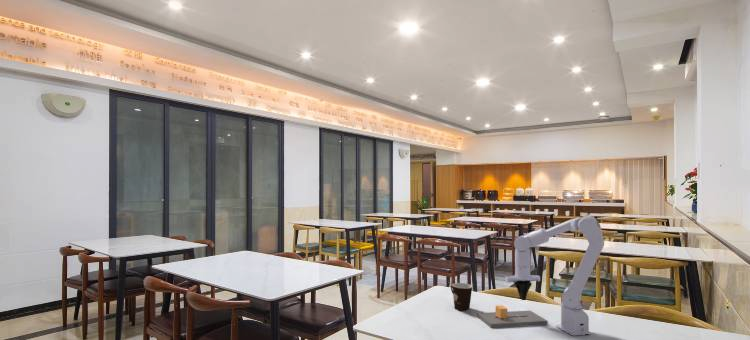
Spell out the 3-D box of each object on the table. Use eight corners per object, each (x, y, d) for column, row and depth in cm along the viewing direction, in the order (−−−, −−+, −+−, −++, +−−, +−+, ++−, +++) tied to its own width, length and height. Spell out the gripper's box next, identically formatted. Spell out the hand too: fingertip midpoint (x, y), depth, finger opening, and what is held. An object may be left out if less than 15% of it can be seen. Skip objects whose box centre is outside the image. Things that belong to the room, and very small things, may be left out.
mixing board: (547, 324, 153) (547, 320, 153) (491, 327, 148) (491, 323, 149) (530, 314, 165) (530, 310, 165) (477, 316, 160) (477, 312, 160)
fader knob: (507, 318, 154) (507, 308, 154) (500, 318, 154) (500, 308, 154) (502, 314, 158) (502, 305, 158) (495, 315, 157) (495, 305, 158)
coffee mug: (474, 312, 166) (474, 288, 166) (453, 311, 166) (454, 288, 166) (468, 303, 177) (468, 281, 178) (449, 303, 178) (449, 281, 178)
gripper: (533, 263, 163) (533, 295, 163) (501, 264, 160) (501, 297, 160) (543, 266, 156) (543, 300, 156) (510, 267, 154) (510, 302, 153)
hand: (522, 299), depth 157 cm, fingers closed
